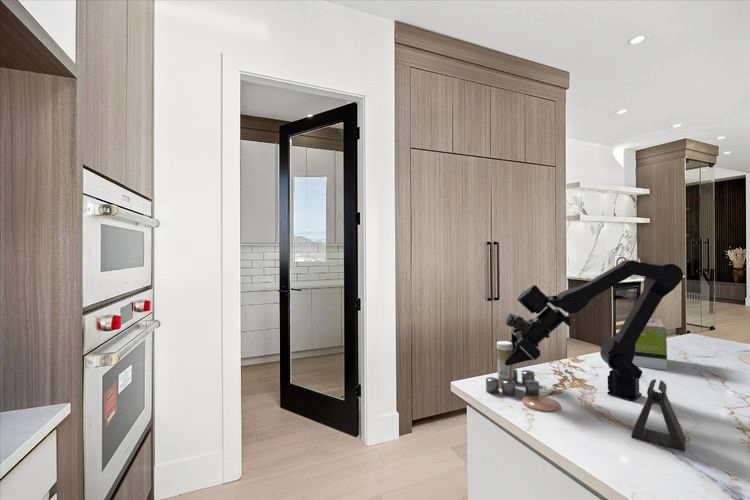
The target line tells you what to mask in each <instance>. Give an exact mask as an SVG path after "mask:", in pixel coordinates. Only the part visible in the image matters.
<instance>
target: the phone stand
mask: <svg viewBox="0 0 750 500" xmlns="http://www.w3.org/2000/svg"><path fill="white" fill-rule="evenodd" d="M656 382H657V380H656V379H652V380H651V381H650V383H649V384H648V388H647V392H646V395H647V399H646V401H645V403H644V405H643V407H642V409H641V411H640V413H639V414H638V418H636V419H637V420H636V422H635V424H634V426H633V429H632V432H631V434H630V437H631V438H632V439H634V440H638V441H643V442H645V443H650V444H653V445H658V446H661V447H664V448H669V449H672V450H675V451H679V452H685V451H686V438H687V437H686V435H685V434H684V432H683V428H682V427H681V425H680V422H679V420H678V418H677V416H676V413H675V411H674V409H673V406H672V404H671V401H670V399H669V397H668V395H667V388H668V387H667V384H666V382H664V381H663V380H662V379H660V380H659V384H658V388H657V389H658V390H659V391H656V390H655V389H654V388H655V384H656ZM653 405H658V406H659V407H660V410H661V414H662V416H663V419H664V422H665V425H666V428H667V431H668V433H666V432H662V431H661V432H660V431H658V430H652V429H649V428H646V424H647V422H648V419H649V416H650V413H651V410H652V406H653Z"/></svg>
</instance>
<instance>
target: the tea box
mask: <svg viewBox="0 0 750 500" xmlns="http://www.w3.org/2000/svg"><path fill="white" fill-rule="evenodd" d="M667 344H668V343H667V328H666V325H665V322H664V320H663V319H662V318H661V319H659V318H650V320H649V321H648V323H647V325H646V327H645V328H644V330H643V332H642V333H641V335H640V337H639V338H638V340H637V342H636V347H635V356H634V359H633V362H632V363H634V364H635V365H636V366H637V367H638V368H647V369H655V370H665V371H666V370H668V346H667Z"/></svg>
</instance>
